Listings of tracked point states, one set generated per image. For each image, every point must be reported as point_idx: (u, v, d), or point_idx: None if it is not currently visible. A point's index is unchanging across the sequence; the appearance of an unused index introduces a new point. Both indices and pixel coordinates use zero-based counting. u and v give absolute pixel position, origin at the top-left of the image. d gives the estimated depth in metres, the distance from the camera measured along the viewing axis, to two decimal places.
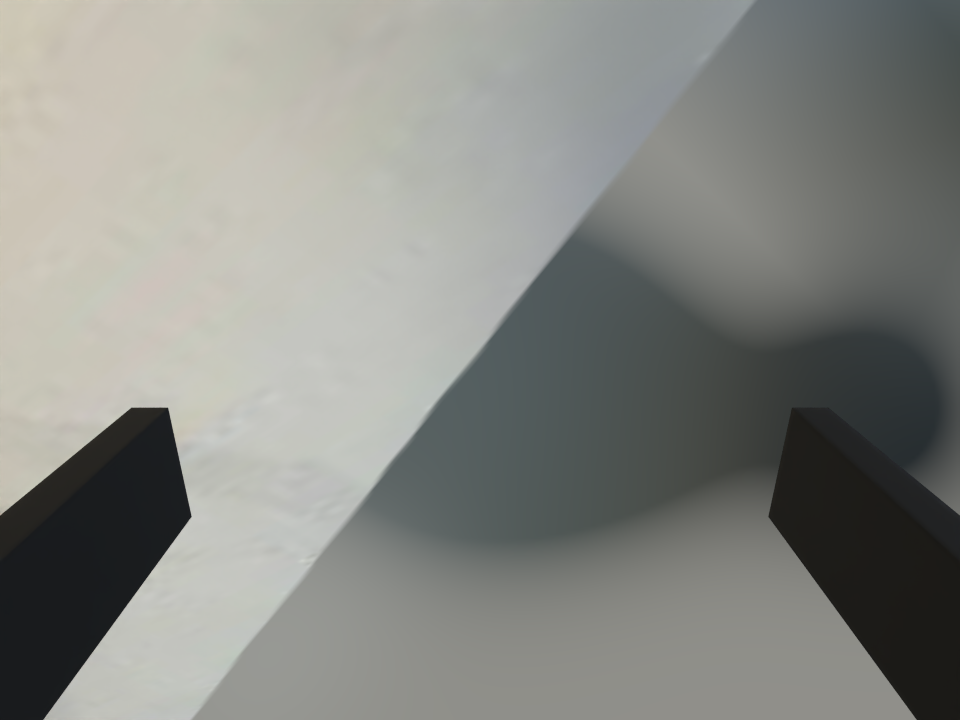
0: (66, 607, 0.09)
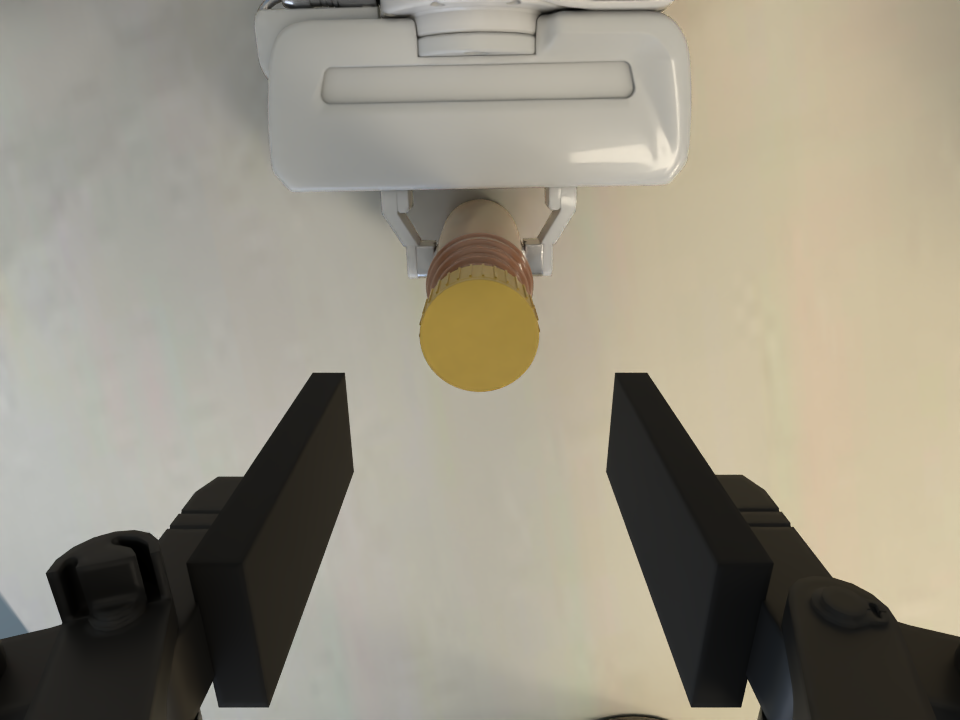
0: (307, 531, 0.11)
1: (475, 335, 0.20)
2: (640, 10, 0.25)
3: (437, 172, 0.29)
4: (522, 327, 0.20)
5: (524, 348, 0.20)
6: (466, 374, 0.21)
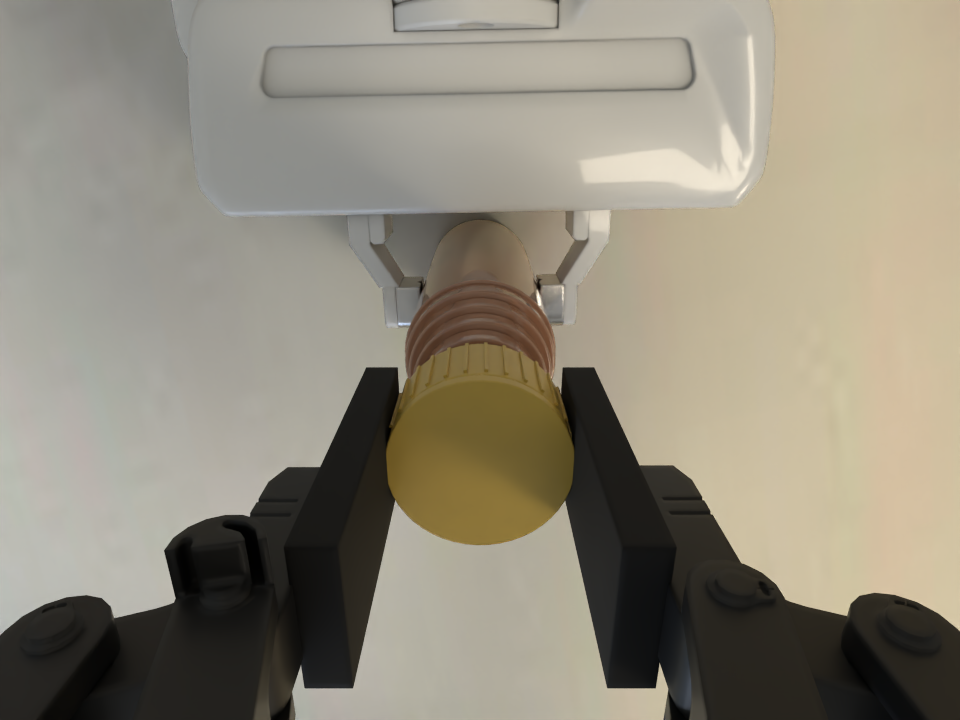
0: (375, 520, 0.11)
1: (473, 464, 0.13)
2: None
3: (422, 191, 0.21)
4: (549, 452, 0.13)
5: (551, 483, 0.13)
6: (459, 520, 0.13)
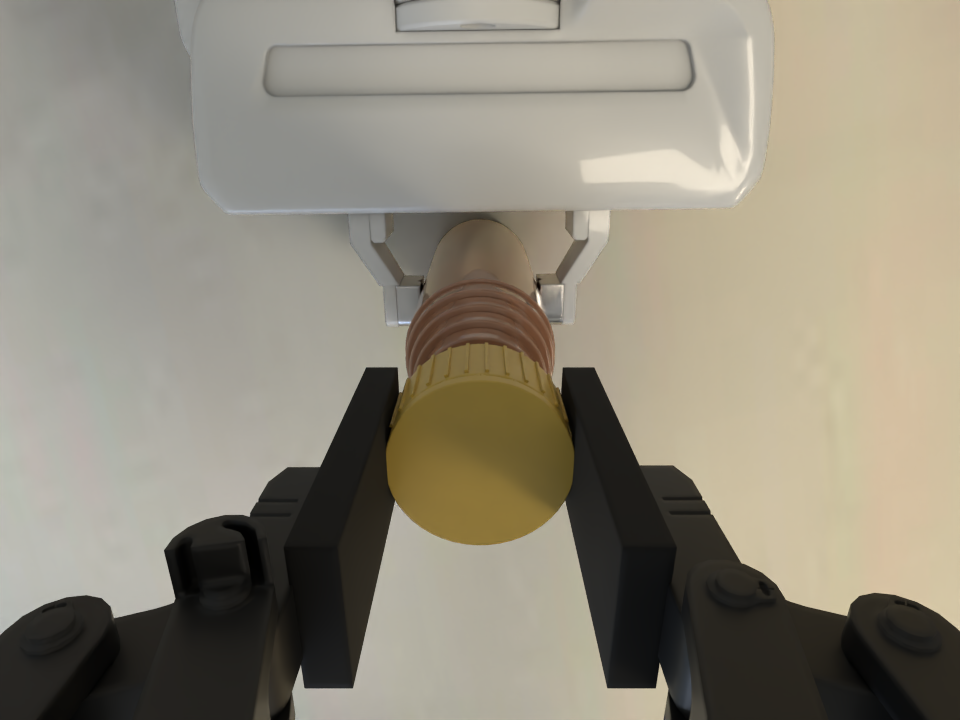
0: (375, 520, 0.11)
1: (479, 474, 0.13)
2: None
3: (423, 190, 0.21)
4: (429, 422, 0.12)
5: (459, 403, 0.12)
6: (546, 457, 0.13)
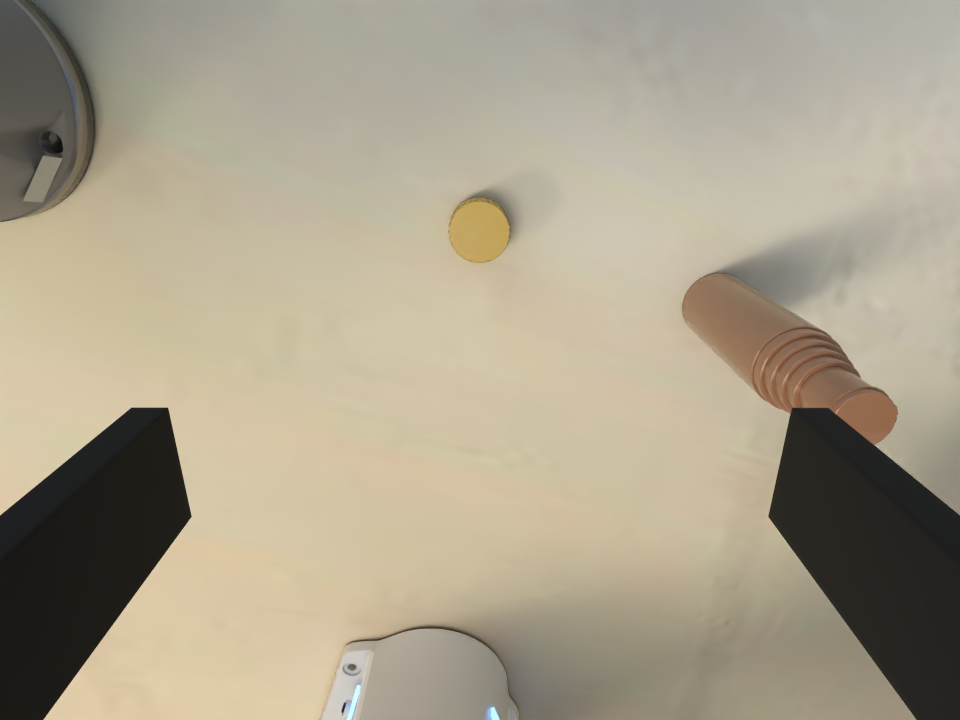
0: (66, 606, 0.09)
1: (477, 231, 0.40)
2: None
3: None
4: (501, 227, 0.40)
5: (502, 239, 0.40)
6: (472, 252, 0.40)
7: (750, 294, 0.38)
